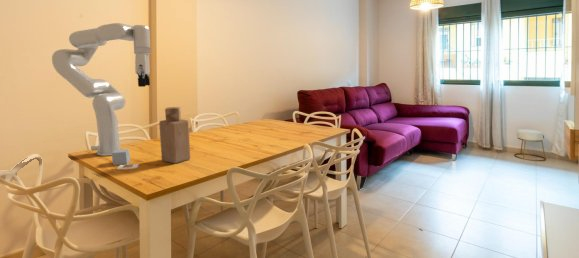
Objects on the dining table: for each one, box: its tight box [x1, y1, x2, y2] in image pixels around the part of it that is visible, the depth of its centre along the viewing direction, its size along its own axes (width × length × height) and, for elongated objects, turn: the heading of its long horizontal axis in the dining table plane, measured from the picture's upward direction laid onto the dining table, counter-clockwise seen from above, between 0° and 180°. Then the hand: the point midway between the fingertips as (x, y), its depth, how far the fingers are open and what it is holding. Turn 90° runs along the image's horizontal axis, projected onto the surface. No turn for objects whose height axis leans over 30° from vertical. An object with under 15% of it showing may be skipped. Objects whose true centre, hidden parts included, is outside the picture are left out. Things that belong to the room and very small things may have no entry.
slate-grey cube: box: [111, 148, 131, 166], centre depth 154 cm, size 6×6×6 cm
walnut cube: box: [164, 106, 182, 122], centre depth 155 cm, size 6×6×6 cm
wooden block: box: [158, 118, 191, 165], centre depth 157 cm, size 10×10×20 cm
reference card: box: [116, 163, 140, 170], centre depth 147 cm, size 8×5×1 cm, turn 102°
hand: (144, 85), depth 163 cm, fingers open, 9 cm apart
